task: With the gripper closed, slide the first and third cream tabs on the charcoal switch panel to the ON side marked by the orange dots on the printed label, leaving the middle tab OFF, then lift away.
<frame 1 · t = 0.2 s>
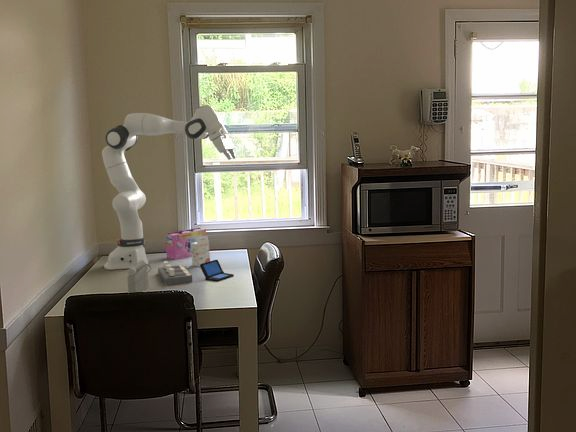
hand: (232, 158, 297), 54 cm above the table, tool tilted 30°, fingers open, 8 cm apart
switch panel: (174, 277, 282), on the table
gum box: (187, 255, 332), on the table
switch tab 2: (168, 268, 280), point 5 cm above the table, slide at 0.0 cm
handheld game console: (217, 278, 279), on the table
switch tab 1: (171, 272, 273), point 5 cm above the table, slide at 0.0 cm
switch tab 3: (166, 264, 288), point 5 cm above the table, slide at 0.0 cm
ink cartridge box: (201, 264, 308), on the table
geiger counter: (139, 297, 251), on the table
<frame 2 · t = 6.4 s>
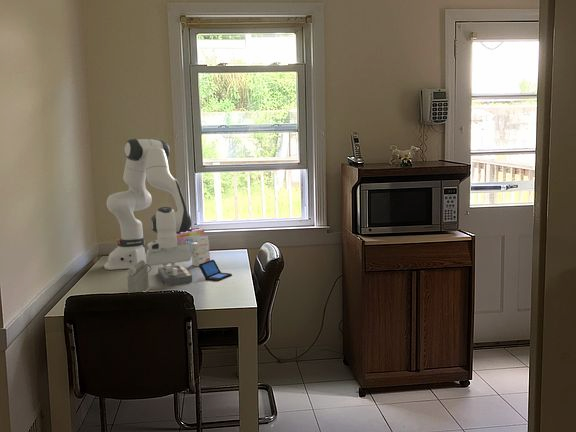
hand: (169, 272, 272), 5 cm above the table, tool pointing down, fingers closed
switch tab 1: (174, 271, 273), point 5 cm above the table, slide at 1.5 cm, touching gripper
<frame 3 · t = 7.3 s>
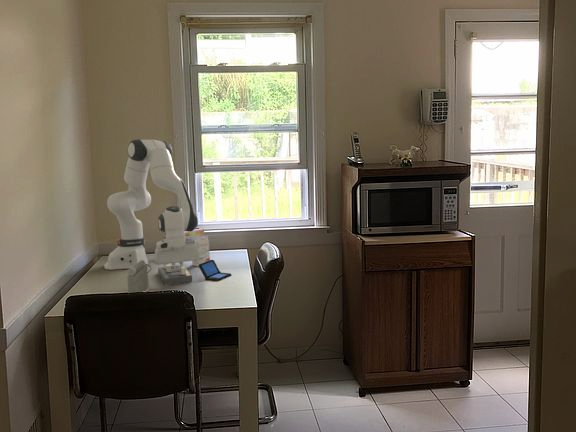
hand: (177, 271, 274), 5 cm above the table, tool pointing down, fingers closed
switch tab 1: (183, 270, 275), point 5 cm above the table, slide at 5.3 cm, touching gripper
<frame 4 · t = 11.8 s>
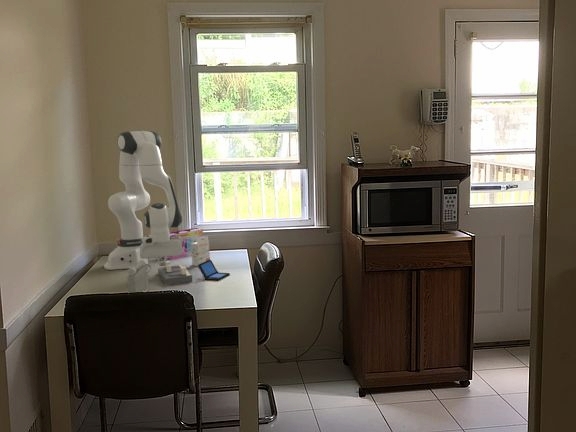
hand: (162, 265, 287), 5 cm above the table, tool pointing down, fingers closed
switch tab 1: (183, 270, 275), point 5 cm above the table, slide at 5.4 cm
switch tab 3: (167, 264, 288), point 5 cm above the table, slide at 0.7 cm, touching gripper
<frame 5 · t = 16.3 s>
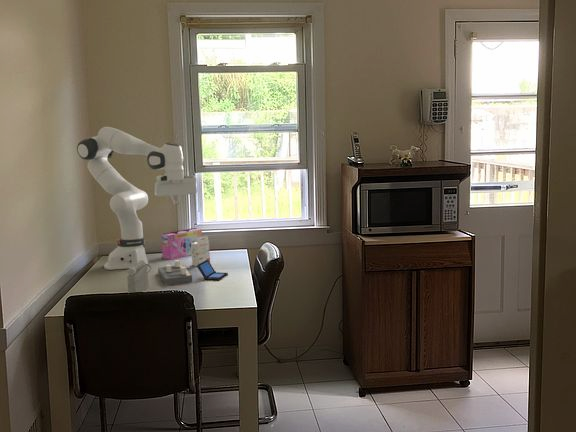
hand: (176, 204, 292), 33 cm above the table, tool pointing down, fingers closed
switch tab 3: (177, 263, 290), point 5 cm above the table, slide at 5.4 cm
at the end: switch tab 1 slide at 5.4 cm; switch tab 3 slide at 5.4 cm; switch tab 2 slide at 0.0 cm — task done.
